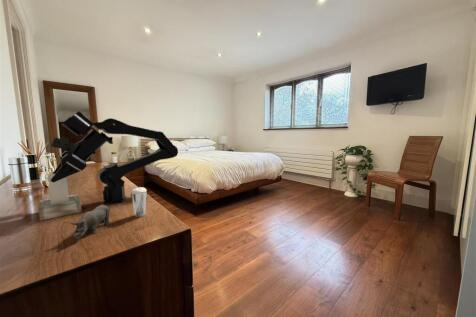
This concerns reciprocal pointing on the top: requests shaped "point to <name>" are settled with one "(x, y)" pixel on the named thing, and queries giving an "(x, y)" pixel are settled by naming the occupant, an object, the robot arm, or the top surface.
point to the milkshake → (139, 201)
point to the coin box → (59, 207)
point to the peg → (58, 190)
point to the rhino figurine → (91, 221)
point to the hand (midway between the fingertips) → (51, 179)
